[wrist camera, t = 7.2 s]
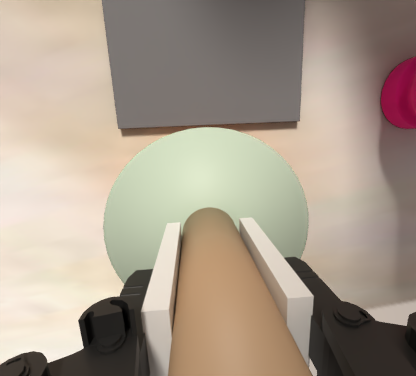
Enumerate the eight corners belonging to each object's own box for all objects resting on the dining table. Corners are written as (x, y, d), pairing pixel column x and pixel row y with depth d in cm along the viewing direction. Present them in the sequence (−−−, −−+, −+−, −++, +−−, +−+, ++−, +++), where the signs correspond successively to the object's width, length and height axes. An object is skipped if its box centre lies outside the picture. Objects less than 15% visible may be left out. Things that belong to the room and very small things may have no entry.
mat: (91, -100, 16) (87, -108, 15) (305, -96, 17) (309, -104, 16) (120, 128, 19) (118, 128, 19) (296, 121, 20) (299, 120, 20)
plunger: (93, 132, 13) (-372, 94, 2) (307, 123, 14) (711, 65, 3) (121, 319, 16) (-27, 699, 5) (298, 303, 17) (493, 602, 6)
